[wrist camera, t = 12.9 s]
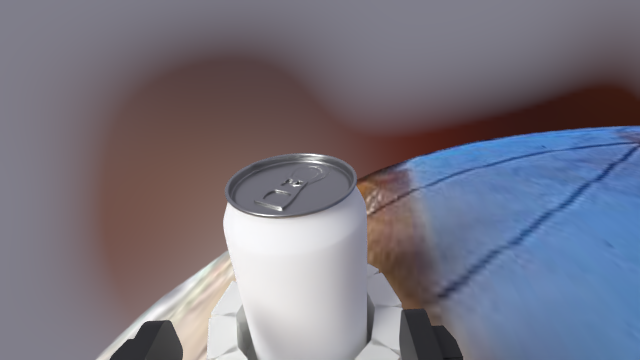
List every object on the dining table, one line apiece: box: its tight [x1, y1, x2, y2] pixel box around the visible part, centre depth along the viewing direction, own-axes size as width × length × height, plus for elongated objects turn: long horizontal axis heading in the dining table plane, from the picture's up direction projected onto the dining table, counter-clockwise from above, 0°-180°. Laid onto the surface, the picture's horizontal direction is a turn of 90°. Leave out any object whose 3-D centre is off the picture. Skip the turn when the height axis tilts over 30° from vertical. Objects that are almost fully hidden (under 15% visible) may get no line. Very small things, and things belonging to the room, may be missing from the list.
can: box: [223, 153, 367, 360], centre depth 16 cm, size 6×6×12 cm
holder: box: [207, 263, 403, 360], centre depth 18 cm, size 11×11×4 cm
